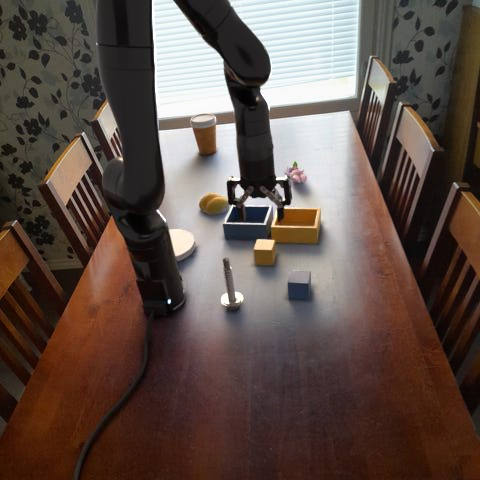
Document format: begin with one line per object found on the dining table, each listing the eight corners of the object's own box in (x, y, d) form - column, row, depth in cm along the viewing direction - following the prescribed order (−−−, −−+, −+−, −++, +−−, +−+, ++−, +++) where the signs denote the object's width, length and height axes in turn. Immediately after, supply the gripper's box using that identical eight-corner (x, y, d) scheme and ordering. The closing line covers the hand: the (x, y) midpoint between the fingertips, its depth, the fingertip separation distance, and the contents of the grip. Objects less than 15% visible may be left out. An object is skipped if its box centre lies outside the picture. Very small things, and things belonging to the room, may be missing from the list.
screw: (222, 300, 102) (243, 298, 102) (222, 314, 99) (244, 312, 98) (213, 252, 93) (237, 249, 93) (213, 265, 90) (237, 263, 90)
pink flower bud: (282, 176, 148) (292, 189, 135) (280, 158, 145) (291, 169, 132) (301, 173, 148) (313, 186, 135) (299, 155, 145) (312, 166, 132)
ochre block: (273, 265, 110) (271, 250, 107) (254, 264, 111) (253, 249, 108) (276, 255, 113) (275, 239, 110) (258, 254, 114) (256, 239, 111)
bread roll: (214, 218, 130) (212, 206, 127) (195, 209, 135) (193, 196, 133) (235, 207, 133) (234, 195, 131) (217, 198, 139) (215, 186, 136)
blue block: (308, 299, 99) (308, 283, 96) (288, 298, 100) (287, 282, 97) (311, 287, 102) (311, 270, 99) (291, 286, 103) (290, 270, 100)
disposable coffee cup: (191, 150, 169) (185, 117, 161) (214, 143, 172) (210, 110, 164) (200, 158, 163) (194, 124, 155) (224, 151, 165) (220, 117, 157)
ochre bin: (316, 243, 115) (317, 228, 112) (271, 242, 118) (270, 227, 115) (320, 222, 122) (320, 207, 119) (278, 221, 125) (277, 207, 122)
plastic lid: (139, 246, 123) (136, 238, 121) (188, 232, 126) (186, 224, 124) (150, 273, 113) (147, 264, 111) (203, 257, 116) (201, 248, 114)
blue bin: (267, 239, 119) (266, 224, 116) (224, 238, 121) (222, 223, 118) (273, 220, 126) (272, 205, 123) (233, 219, 128) (231, 204, 125)
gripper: (218, 160, 93) (228, 228, 104) (286, 158, 90) (290, 229, 101) (226, 145, 99) (235, 211, 109) (291, 143, 95) (294, 212, 106)
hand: (261, 220), depth 105 cm, fingers open, 8 cm apart
